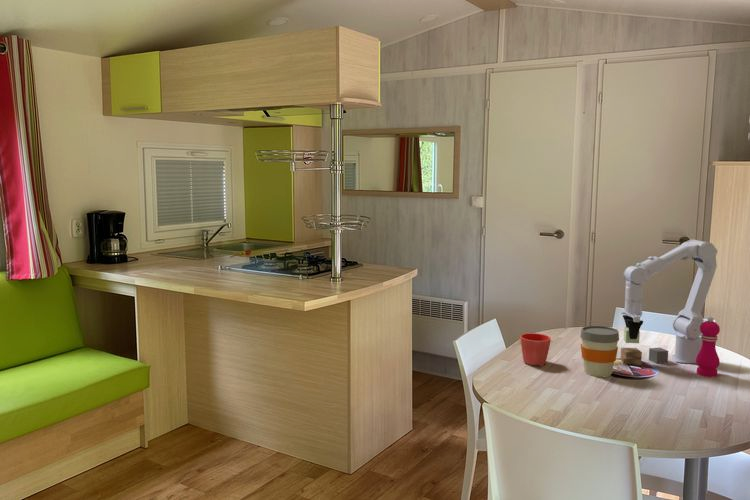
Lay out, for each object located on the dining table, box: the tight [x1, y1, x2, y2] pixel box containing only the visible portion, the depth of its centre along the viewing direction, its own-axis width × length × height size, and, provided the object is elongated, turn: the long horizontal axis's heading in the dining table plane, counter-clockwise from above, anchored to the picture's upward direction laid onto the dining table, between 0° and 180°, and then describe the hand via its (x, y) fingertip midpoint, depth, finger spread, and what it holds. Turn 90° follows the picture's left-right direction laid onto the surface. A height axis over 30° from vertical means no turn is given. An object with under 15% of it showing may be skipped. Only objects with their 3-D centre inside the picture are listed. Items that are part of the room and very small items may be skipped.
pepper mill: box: [695, 316, 721, 378], centre depth 216 cm, size 7×7×20 cm
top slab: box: [620, 347, 643, 360], centre depth 230 cm, size 6×6×2 cm
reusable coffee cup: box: [580, 325, 620, 378], centre depth 219 cm, size 13×13×15 cm
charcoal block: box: [648, 347, 669, 365], centre depth 231 cm, size 4×4×4 cm
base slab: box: [620, 354, 642, 366], centre depth 230 cm, size 6×6×2 cm
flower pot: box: [520, 332, 552, 366], centre depth 230 cm, size 11×11×10 cm
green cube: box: [623, 326, 641, 344], centre depth 229 cm, size 4×4×4 cm
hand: (631, 337), depth 229 cm, fingers closed on green cube, 4 cm apart
